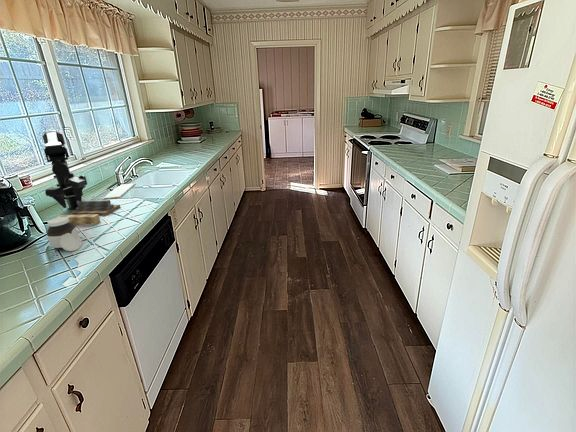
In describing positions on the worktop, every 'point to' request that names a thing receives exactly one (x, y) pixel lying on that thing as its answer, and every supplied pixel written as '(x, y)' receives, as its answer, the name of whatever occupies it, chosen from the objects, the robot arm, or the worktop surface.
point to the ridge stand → (94, 207)
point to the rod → (82, 219)
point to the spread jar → (63, 234)
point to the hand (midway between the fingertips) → (72, 204)
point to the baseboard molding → (119, 191)
